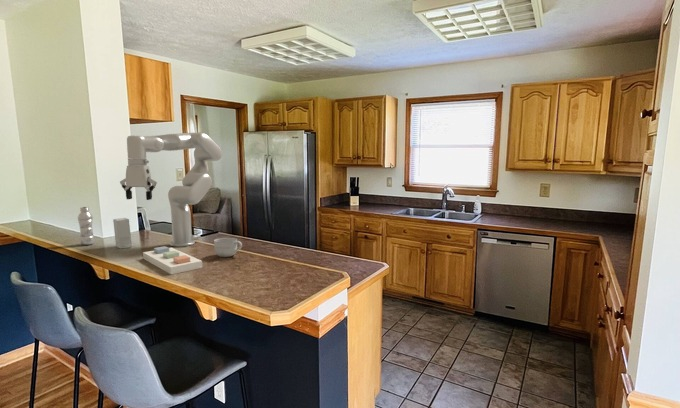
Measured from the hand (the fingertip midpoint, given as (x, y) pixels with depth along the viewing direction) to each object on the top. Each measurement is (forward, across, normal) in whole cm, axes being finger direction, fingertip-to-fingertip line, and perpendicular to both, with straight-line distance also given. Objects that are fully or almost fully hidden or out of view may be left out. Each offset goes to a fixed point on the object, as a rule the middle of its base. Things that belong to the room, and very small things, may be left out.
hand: (139, 199), depth 169 cm
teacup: (+27, -41, -4) cm, 49 cm away
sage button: (+24, -20, +10) cm, 33 cm away
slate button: (+24, -12, +3) cm, 27 cm away
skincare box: (+27, +20, -15) cm, 37 cm away
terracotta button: (+24, -29, +17) cm, 42 cm away
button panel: (+27, -20, +10) cm, 36 cm away
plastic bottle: (+27, +41, -17) cm, 52 cm away
